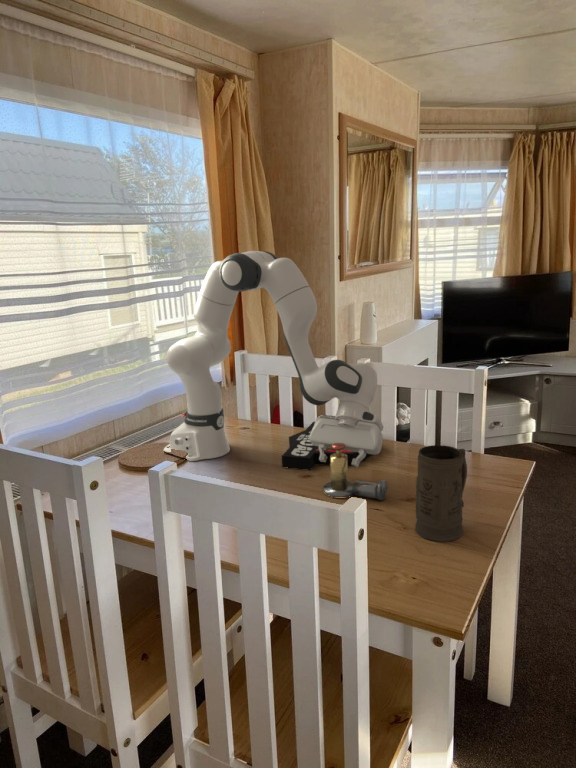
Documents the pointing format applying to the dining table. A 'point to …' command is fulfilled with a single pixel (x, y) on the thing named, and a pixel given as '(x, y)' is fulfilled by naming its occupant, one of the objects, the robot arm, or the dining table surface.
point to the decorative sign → (310, 452)
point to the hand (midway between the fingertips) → (338, 463)
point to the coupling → (360, 489)
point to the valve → (339, 468)
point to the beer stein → (440, 492)
